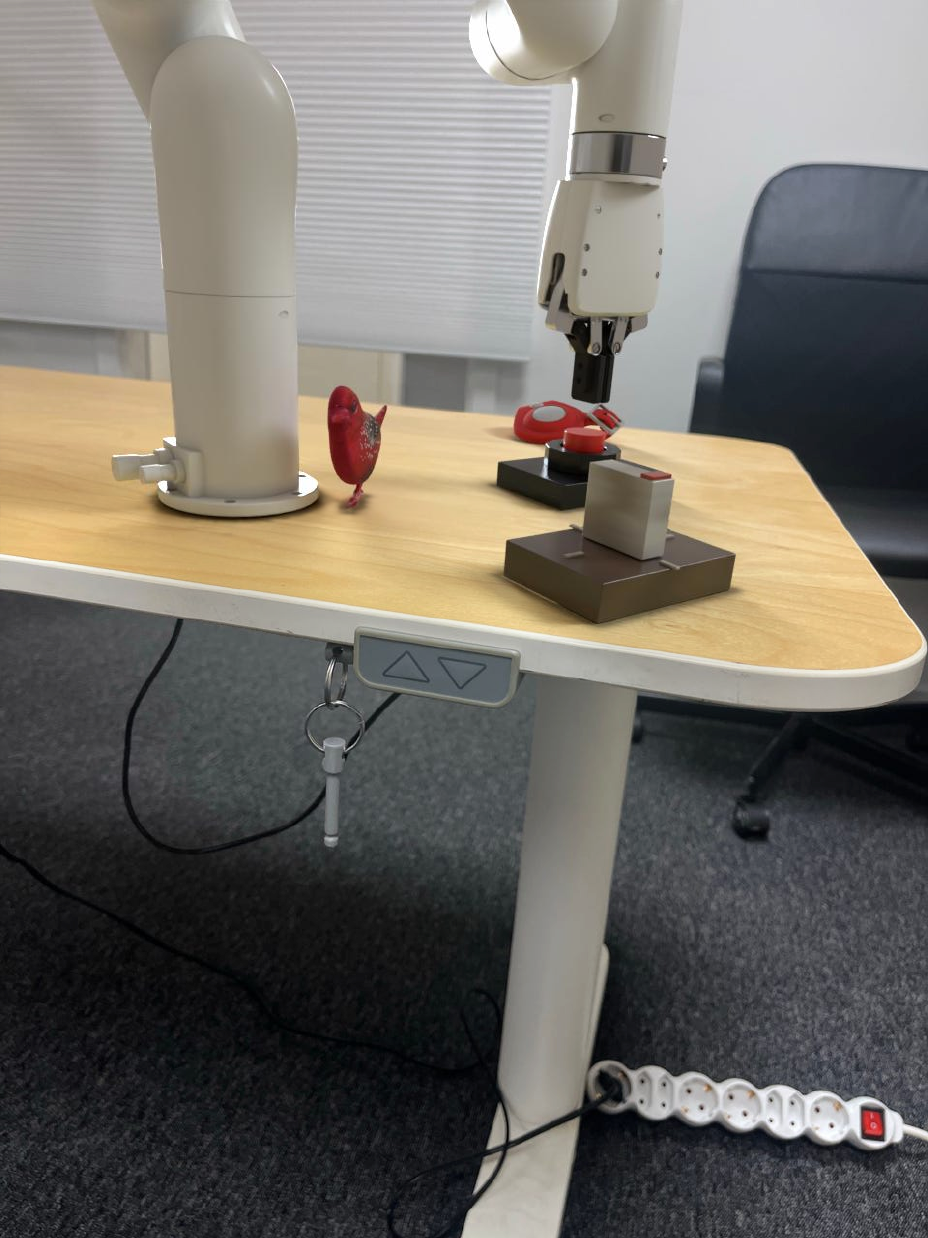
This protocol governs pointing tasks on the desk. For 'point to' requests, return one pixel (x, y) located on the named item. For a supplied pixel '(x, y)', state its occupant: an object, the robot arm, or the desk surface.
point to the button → (584, 439)
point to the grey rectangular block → (628, 508)
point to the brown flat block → (615, 572)
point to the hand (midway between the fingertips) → (589, 400)
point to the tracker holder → (561, 421)
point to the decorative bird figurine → (353, 439)
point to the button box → (556, 474)
